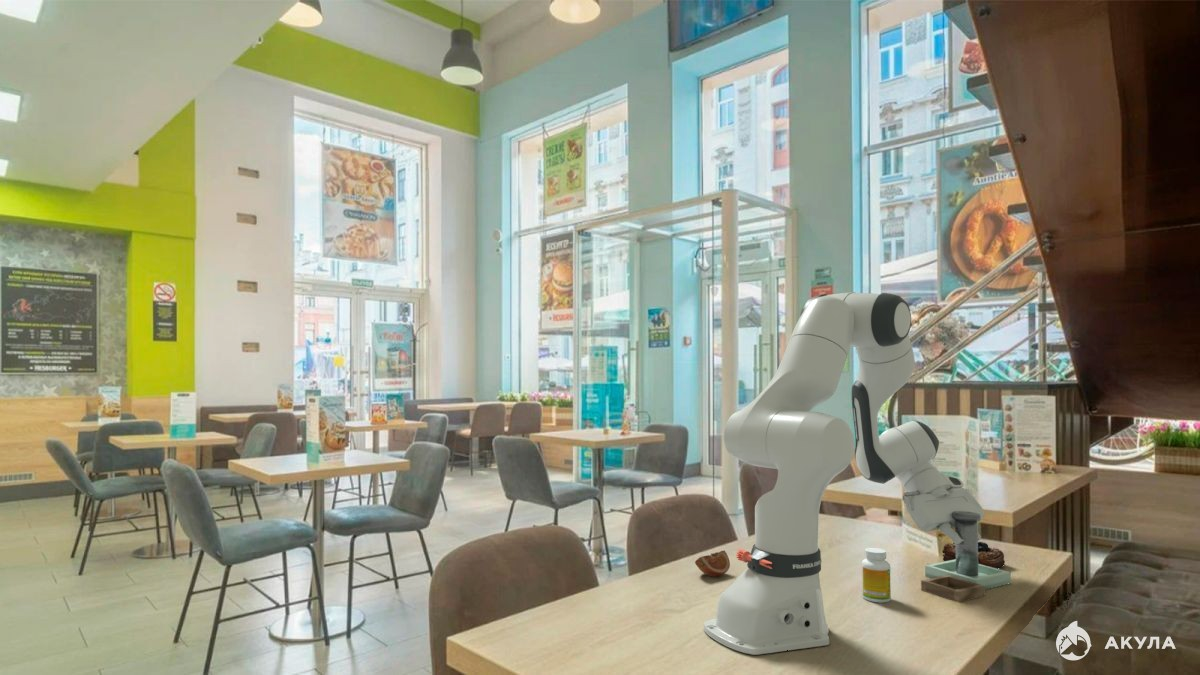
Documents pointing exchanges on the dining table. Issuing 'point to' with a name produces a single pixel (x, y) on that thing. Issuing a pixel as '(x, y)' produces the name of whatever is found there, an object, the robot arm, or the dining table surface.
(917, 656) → the dining table surface
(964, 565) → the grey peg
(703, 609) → the dining table surface
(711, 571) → the fruit slice
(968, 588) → the socket block
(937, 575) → the tray
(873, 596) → the supplement bottle
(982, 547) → the pastry
